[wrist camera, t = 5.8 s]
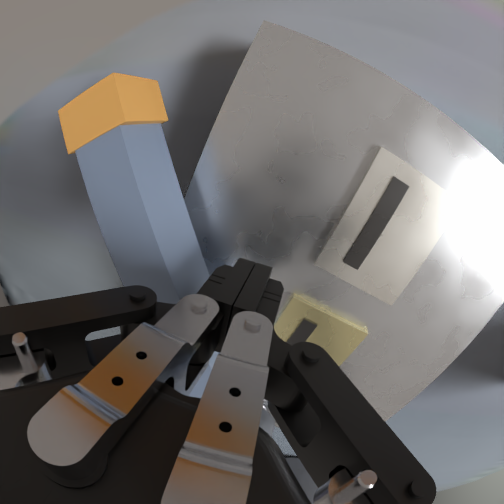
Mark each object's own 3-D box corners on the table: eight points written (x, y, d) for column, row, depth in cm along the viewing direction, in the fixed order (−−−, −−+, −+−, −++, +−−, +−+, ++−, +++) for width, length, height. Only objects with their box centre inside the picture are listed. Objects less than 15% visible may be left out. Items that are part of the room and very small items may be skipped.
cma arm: (280, 432, 18) (272, 468, 15) (233, 430, 19) (221, 464, 16) (161, 79, 11) (117, 69, 8) (102, 110, 12) (55, 113, 9)
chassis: (345, 406, 24) (344, 455, 19) (164, 322, 24) (132, 364, 19) (510, 199, 14) (557, 225, 9) (279, 48, 14) (261, 15, 9)
